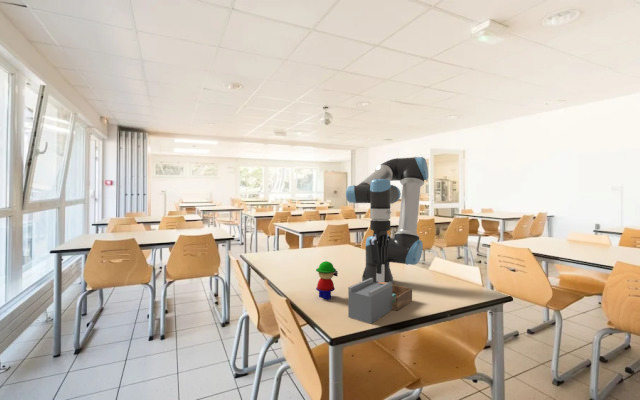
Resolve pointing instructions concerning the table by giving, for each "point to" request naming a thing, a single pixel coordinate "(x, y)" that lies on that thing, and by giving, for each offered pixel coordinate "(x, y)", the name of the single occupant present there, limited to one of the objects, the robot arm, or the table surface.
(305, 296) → the table surface
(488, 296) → the table surface
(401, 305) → the crate
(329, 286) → the toy
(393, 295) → the teal square block
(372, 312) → the grey stepped block
